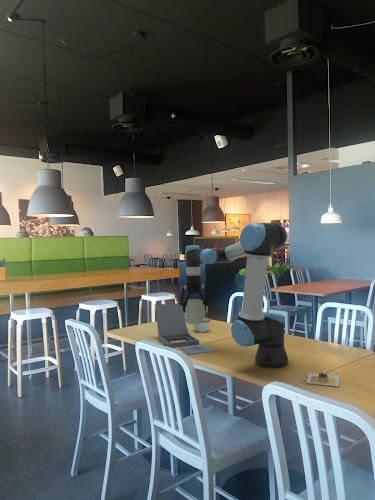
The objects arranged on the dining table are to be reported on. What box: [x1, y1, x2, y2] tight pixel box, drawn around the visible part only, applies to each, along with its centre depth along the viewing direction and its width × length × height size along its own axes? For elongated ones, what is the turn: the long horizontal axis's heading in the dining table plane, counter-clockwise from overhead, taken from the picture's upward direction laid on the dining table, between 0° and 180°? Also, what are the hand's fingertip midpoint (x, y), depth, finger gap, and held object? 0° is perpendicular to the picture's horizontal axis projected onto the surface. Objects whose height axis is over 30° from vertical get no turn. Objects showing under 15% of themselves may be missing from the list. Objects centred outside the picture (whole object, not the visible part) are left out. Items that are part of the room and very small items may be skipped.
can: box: [186, 299, 204, 325], centre depth 209 cm, size 9×9×12 cm
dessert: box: [306, 370, 340, 388], centre depth 160 cm, size 12×12×5 cm
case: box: [155, 302, 200, 349], centre depth 226 cm, size 23×18×20 cm
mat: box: [180, 344, 214, 355], centre depth 208 cm, size 13×13×1 cm
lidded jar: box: [192, 317, 211, 334], centre depth 250 cm, size 11×11×9 cm
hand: (194, 317), depth 209 cm, fingers closed on can, 9 cm apart
